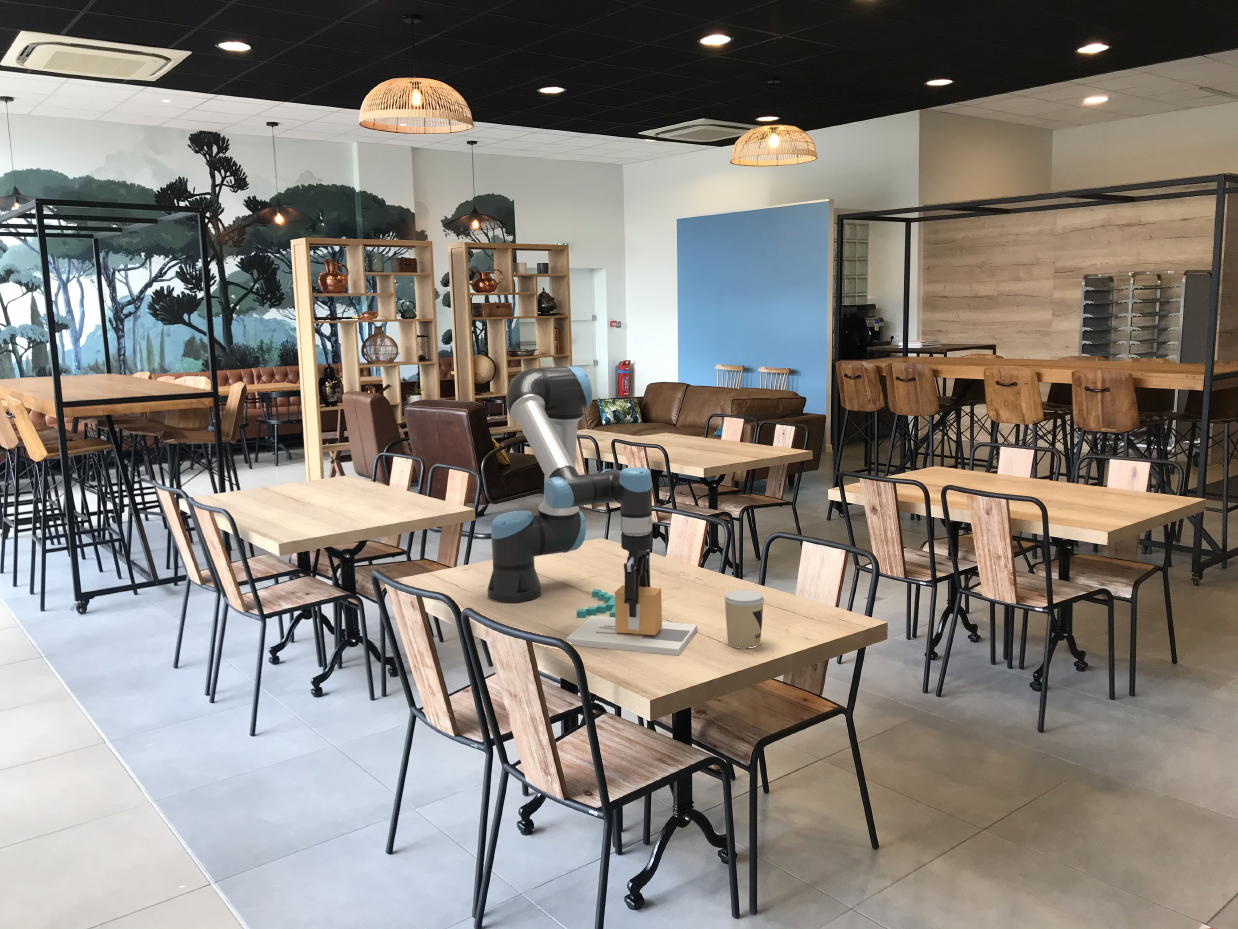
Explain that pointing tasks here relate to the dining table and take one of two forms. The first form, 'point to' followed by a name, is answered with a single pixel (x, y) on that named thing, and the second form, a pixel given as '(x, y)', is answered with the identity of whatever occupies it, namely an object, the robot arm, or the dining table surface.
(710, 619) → the dining table surface
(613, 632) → the painted board
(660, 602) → the tan rectangular block
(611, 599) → the alien figure
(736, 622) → the coffee cup
